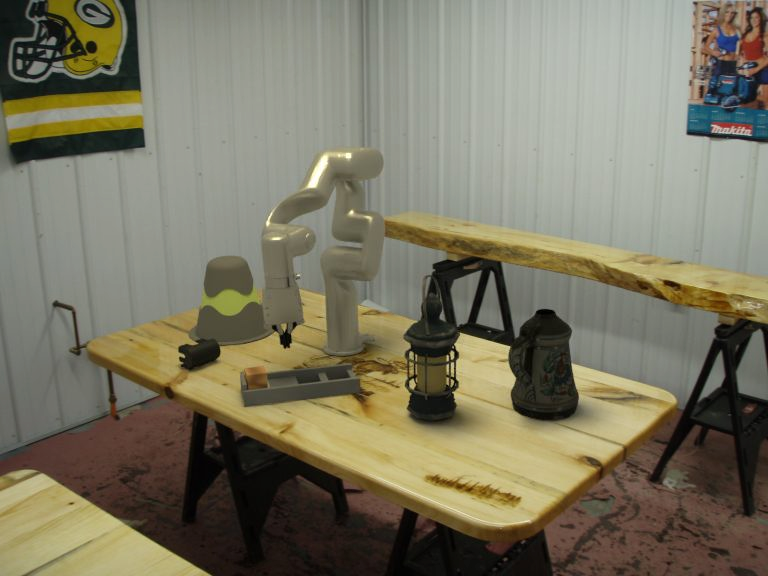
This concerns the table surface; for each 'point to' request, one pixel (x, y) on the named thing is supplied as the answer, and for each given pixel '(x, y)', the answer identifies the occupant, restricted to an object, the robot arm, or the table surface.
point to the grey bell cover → (229, 304)
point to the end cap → (199, 353)
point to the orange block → (256, 377)
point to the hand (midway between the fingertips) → (286, 346)
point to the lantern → (431, 360)
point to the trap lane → (302, 384)
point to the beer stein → (543, 368)
